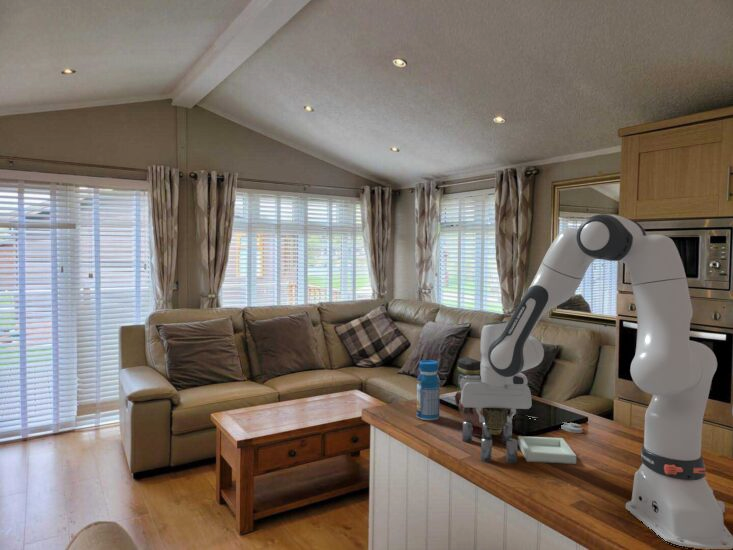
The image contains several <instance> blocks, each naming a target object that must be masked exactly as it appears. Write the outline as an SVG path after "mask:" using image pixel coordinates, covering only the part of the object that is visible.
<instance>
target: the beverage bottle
mask: <svg viewBox="0 0 733 550" xmlns="http://www.w3.org/2000/svg"><path fill="white" fill-rule="evenodd" d="M418 369H419V370H418V371H419V374H418V376H417V378H416V382H417V384H416V388H415V389H416V412H415V413H416V415H415V416H416V417H417V418H418V419H420V420H422V421H437V420H438V419H439V418H440V393H441V386H440V383H441V379H440V377H439V375H438V372H439V362H438V361H437V360H432V359H422V360H420V361H419V363H418Z"/></svg>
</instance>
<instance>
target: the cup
mask: <svg viewBox="0 0 733 550" xmlns="http://www.w3.org/2000/svg"><path fill="white" fill-rule="evenodd" d="M508 412H509V408H483V416H484V419H485V424H486V426H487V427H489V432H490V433H491V434H495V435H494V436H497V435H501V434H502V428H503V427H504V426H505V425H506V422H507V416H509V413H508Z"/></svg>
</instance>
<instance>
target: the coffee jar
mask: <svg viewBox="0 0 733 550" xmlns="http://www.w3.org/2000/svg"><path fill="white" fill-rule="evenodd" d="M480 364H481V360H478V359H474V358H471V357H469V356H466V357H460V358H459V359H458V360H457V372H458V373H457V375H458V378H457V379H458V380H457V392H458V391H462V389H461V388H460V380H461V378H463V377H465V376H466V375H470V376H478V375H479V376H480ZM464 379H465V378H464ZM460 400H461V396H460V398H459V402H460Z"/></svg>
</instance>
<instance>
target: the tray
mask: <svg viewBox="0 0 733 550" xmlns="http://www.w3.org/2000/svg"><path fill="white" fill-rule="evenodd" d="M517 446H519V449H520V451H521V452H522V455H523V457H524V459H525V461H526V462H530V463H531V462H532V463H546V464H549V463H550V464H566V465H567V464H569V465H577V455H576V453H575V452H574V451H573V449H572V448H571V447H570V446H569V444H568V443H567V442H566V441H565V439H564V438H563V437H548V436H525V435H524V436H523V435H517Z"/></svg>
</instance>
